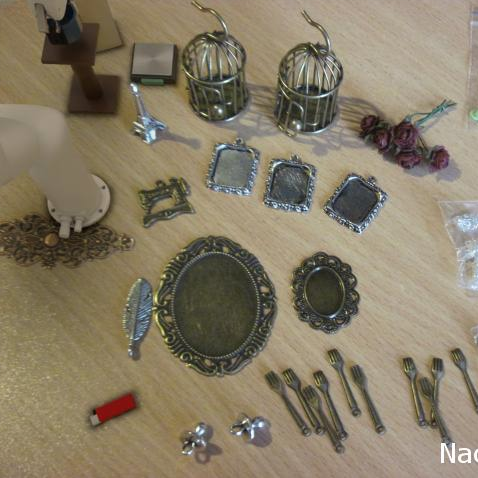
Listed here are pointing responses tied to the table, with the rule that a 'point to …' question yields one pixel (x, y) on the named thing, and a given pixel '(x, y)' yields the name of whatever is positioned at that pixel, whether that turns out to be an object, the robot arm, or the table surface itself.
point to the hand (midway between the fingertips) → (62, 27)
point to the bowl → (69, 23)
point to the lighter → (112, 409)
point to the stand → (84, 73)
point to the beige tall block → (99, 21)
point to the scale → (154, 63)
